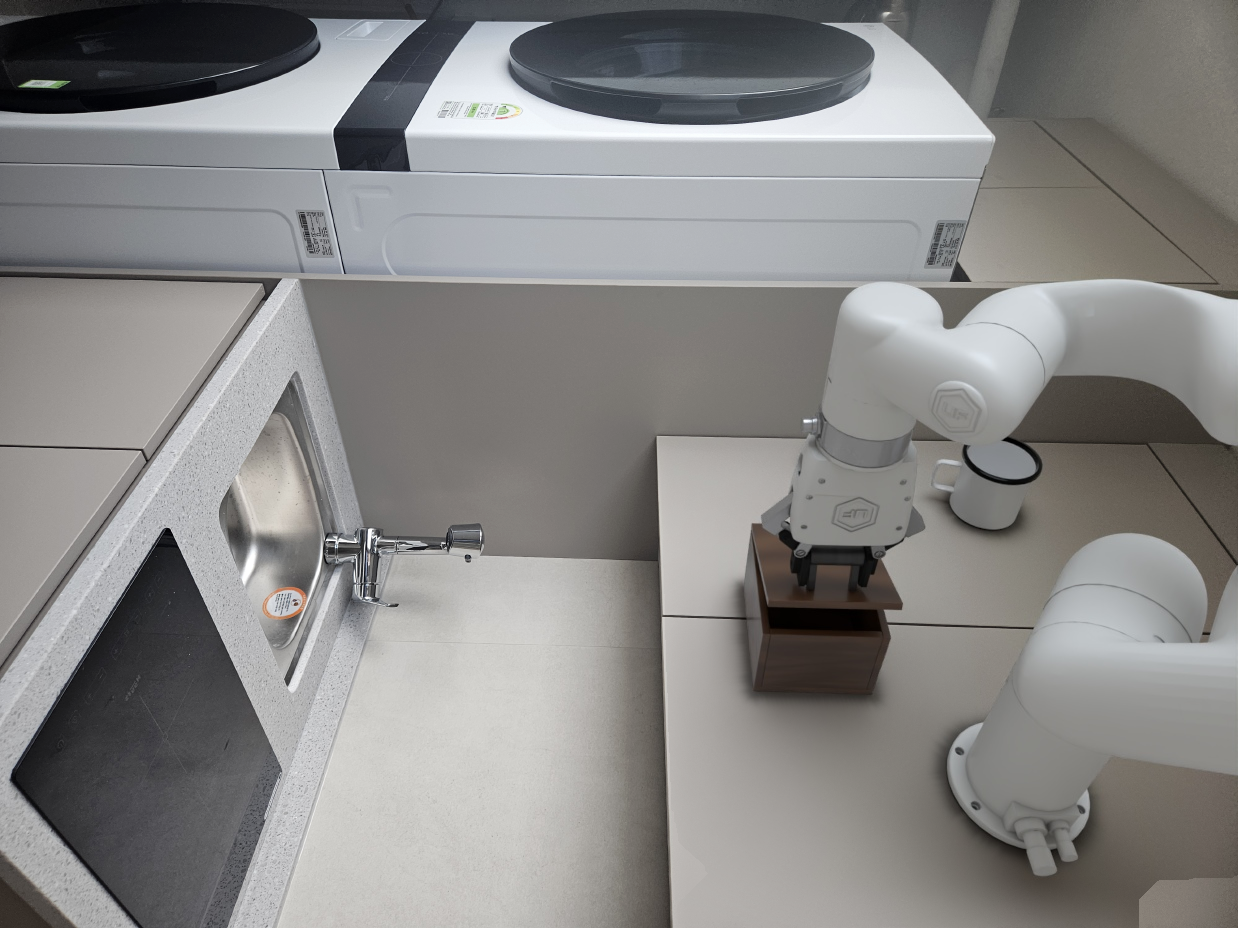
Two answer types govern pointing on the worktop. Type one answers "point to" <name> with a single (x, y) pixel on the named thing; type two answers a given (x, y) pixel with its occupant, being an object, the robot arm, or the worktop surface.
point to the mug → (991, 482)
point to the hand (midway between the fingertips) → (830, 574)
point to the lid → (822, 577)
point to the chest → (811, 643)
